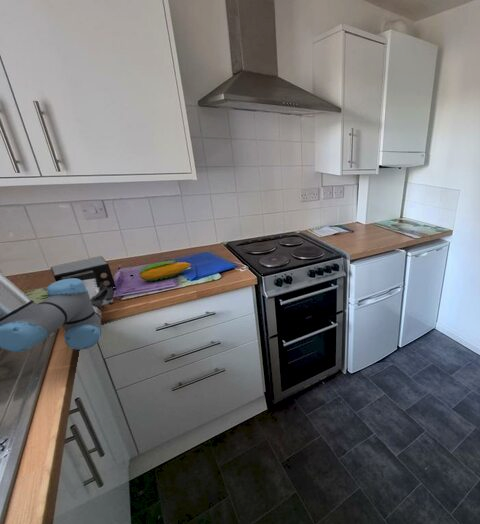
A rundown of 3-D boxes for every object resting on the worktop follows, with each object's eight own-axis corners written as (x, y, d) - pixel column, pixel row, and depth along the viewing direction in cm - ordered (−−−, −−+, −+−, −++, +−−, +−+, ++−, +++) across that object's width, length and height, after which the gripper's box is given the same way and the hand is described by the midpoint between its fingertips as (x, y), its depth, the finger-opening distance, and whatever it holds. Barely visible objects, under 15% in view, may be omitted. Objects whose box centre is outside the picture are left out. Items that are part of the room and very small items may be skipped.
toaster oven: (61, 293, 120) (49, 266, 115) (110, 280, 130) (101, 255, 126) (65, 304, 112) (53, 276, 107) (117, 290, 122) (108, 263, 118)
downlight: (73, 311, 104) (67, 283, 104) (93, 307, 111) (87, 280, 111) (93, 307, 103) (86, 279, 103) (111, 303, 110) (105, 276, 110)
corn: (135, 264, 128) (186, 253, 140) (140, 279, 131) (189, 268, 143) (138, 270, 123) (191, 259, 135) (143, 286, 126) (194, 274, 138)
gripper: (49, 335, 90) (59, 303, 108) (126, 315, 101) (124, 289, 118) (39, 314, 88) (51, 285, 105) (120, 296, 98) (119, 272, 115)
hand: (90, 287), depth 111 cm, fingers closed on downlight, 6 cm apart
